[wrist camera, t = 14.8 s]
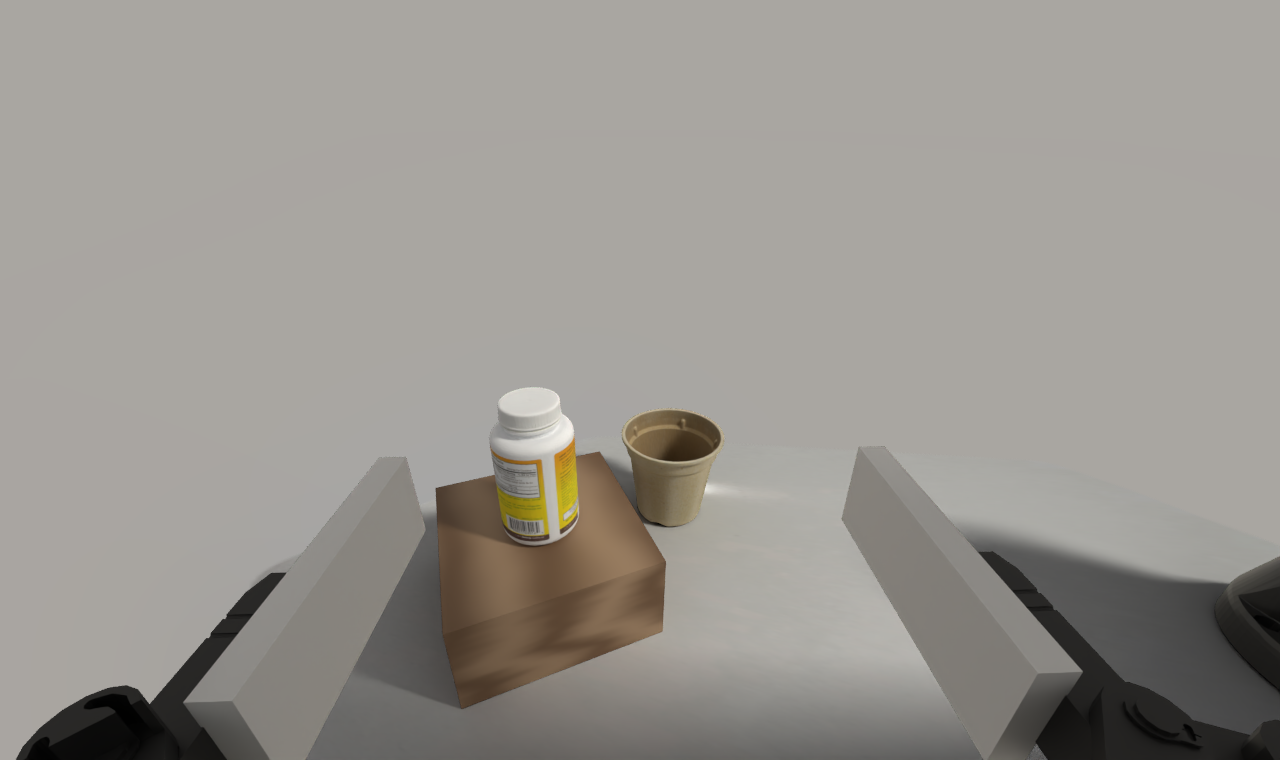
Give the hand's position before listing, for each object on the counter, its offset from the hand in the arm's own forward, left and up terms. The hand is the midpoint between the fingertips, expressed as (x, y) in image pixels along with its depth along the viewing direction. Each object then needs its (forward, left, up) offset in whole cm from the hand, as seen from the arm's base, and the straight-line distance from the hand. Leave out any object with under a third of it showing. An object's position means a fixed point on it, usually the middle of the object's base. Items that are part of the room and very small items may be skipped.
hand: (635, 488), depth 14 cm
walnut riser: (0, -17, -23) cm, 28 cm away
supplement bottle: (0, -17, -16) cm, 23 cm away
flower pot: (-13, -22, -23) cm, 35 cm away
